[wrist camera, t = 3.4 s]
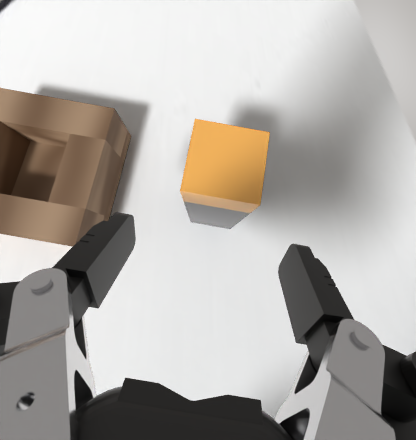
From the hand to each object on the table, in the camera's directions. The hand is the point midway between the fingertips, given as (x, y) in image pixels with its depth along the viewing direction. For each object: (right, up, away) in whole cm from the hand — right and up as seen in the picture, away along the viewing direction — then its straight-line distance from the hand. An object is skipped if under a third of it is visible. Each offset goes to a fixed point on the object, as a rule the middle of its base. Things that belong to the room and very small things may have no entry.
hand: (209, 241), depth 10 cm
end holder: (-15, +5, +10) cm, 19 cm away
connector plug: (+1, +3, +10) cm, 10 cm away
